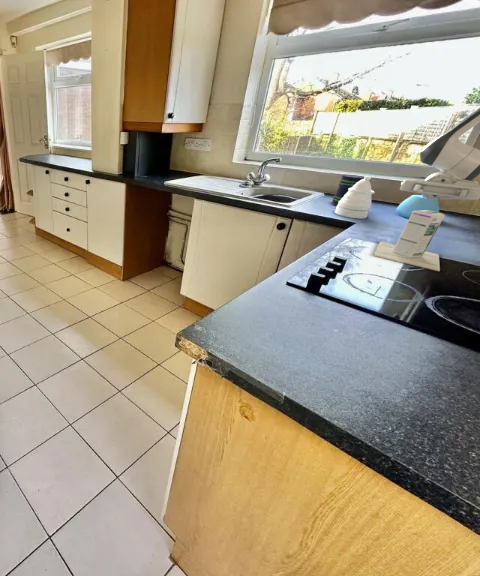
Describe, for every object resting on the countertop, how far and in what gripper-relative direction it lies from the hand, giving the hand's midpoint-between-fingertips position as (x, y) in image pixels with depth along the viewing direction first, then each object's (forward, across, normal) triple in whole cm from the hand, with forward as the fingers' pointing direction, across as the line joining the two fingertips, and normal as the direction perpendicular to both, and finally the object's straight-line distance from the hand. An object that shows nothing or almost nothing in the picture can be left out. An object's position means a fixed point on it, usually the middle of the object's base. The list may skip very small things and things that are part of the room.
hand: (439, 191), depth 105 cm
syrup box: (+12, -1, +20) cm, 23 cm away
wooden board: (+12, 0, +20) cm, 23 cm away
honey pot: (-39, -23, +20) cm, 50 cm away
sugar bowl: (-63, 0, +20) cm, 66 cm away
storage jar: (-62, -30, +20) cm, 72 cm away
